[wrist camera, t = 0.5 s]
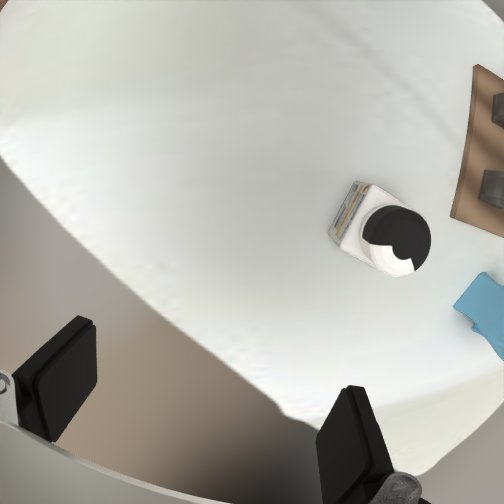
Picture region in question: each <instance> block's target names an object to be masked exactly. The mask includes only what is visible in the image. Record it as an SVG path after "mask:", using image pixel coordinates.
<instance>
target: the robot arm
mask: <svg viewBox="0 0 504 504" xmlns="http://www.w3.org/2000/svg"><path fill="white" fill-rule="evenodd" d="M96 383H97V358H96V326H95V325H93V322H92V320H90V319H87V318H84V317H82V316H79V315H78V316H76V317H75V318H74V319H73V320H72V321H71V322H69V323H68V324H67V325H66V326H65V327H63V328H62V329H61V330H60V331H59V332H58V333H57V334H56V335H55V336H53V337H52V338H51V339H50V340H49V341H48V342H46V343H45V344H44V345H43V346H42V347H41V348H40V349H39V350H38V351H36V352H35V353H34V354H33V355H32V356H31V357H30V358H29V359H28V360H27V361H26V362H25V363H24V364H23V365H21V367H19V368H18V369H17V370H16V371H15V372H14V373H13V374H12V375H10V374H9V373H7V372H6V371H3V370H0V504H229V503H224V502H219V501H214V500H209V499H204V498H200V497H195V496H191V495H187V494H183V493H179V492H176V491H172V490H168V489H165V488H162V487H158V486H155V485H152V484H149V483H146V482H143V481H140V480H137V479H134V478H131V477H128V476H125V475H122V474H120V473H117V472H115V471H112V470H110V469H107V468H104V467H102V466H100V465H97V464H95V463H93V462H90V461H88V460H86V459H84V458H82V457H79V456H77V455H75V454H73V453H71V452H69V451H66V450H64V449H62V448H60V447H58V446H56V445H54V444H52V443H51V442H56V441H57V440H58V439H59V437H60V436H61V434H62V433H63V431H64V430H65V428H66V427H67V426H68V424H69V423H70V421H71V420H72V418H73V417H74V415H75V414H76V413H77V411H78V410H79V408H80V407H81V405H82V404H83V403H84V401H85V400H86V399H87V397H88V396H89V394H90V393H91V391H92V390H93V389H94V387H95V386H96ZM316 448H317V456H318V463H319V473H320V482H321V491H322V500H323V504H431V503H429V502H428V501H426V500H424V499H423V498H421V494H422V487H421V485H420V483H419V481H418V480H417V479H416V478H415V477H414V476H412V475H411V474H408V473H405V472H396V473H395V472H394V469H393V465H392V462H391V459H390V456H389V453H388V450H387V447H386V444H385V442H384V439H383V436H382V433H381V430H380V427H379V425H378V423H377V422H376V419H375V416H374V413H373V410H372V407H371V405H370V402H369V399H368V396H367V394H366V391H365V389H364V387H360V386H353V385H349V386H348V387H347V388H343V389H342V390H341V392H340V394H339V396H338V398H337V400H336V402H335V404H334V405H333V407H332V409H331V411H330V413H329V415H328V417H327V418H326V420H325V422H324V424H323V426H322V427H321V429H320V431H319V433H318V434H317V437H316Z"/></svg>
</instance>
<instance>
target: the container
mask: <svg viewBox="0 0 504 504" xmlns="http://www.w3.org/2000/svg"><path fill="white" fill-rule="evenodd" d="M328 235H329V236H330V237H331V238H332V240H333V241H334V242H335V243H336V244H337V246H338V247H339V248H340V249H341V250H342V251H344V252H346V253H348V254H350V255H352V256H354V257H356V258H357V259H359V260H361V261H363V262H365V263H367V264H369V265H370V266H372V267H374V268H376V269H378V270H380V271H381V272H383V273H385V274H387V275H389V276H390V277H393V278H394V277H402V276H406V275H409V274H411V273H413V272H414V271H416V270H417V269H418V268H419V267H420V266H421V265H422V264H423V263H424V261H425V260H426V258H427V256H428V253H429V250H430V246H431V234H430V230H429V227H428V224H427V223H426V218H425V217H424V216H422V215H421V214H419V213H418V212H416V211H415V210H413V209H412V208H410V207H409V206H407V205H406V204H404V203H403V202H401V201H400V200H398V199H397V198H395V197H393V196H392V195H390V194H389V193H387V192H385V191H384V190H382V189H381V188H379V187H377V186H376V185H372V184H366V183H361V182H355V183H354V184H353V186H352V188H351V190H350V192H349V194H348V196H347V198H346V200H345V202H344V204H343V205H342V207H341V209H340V211H339V213H338V215H337V217H336V219H335V221H334V222H333V224H332V226H331V228H330V230H329V232H328Z"/></svg>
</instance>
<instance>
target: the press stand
mask: <svg viewBox="0 0 504 504" xmlns="http://www.w3.org/2000/svg"><path fill="white" fill-rule="evenodd" d="M450 217H452V218H455V219H457V220H460V221H463V222H465V223H468V224H471V225H473V226H476V227H478V228H481V229H483V230H486V231H488V232H491V233H493V234H496V235H498V236H501V237H503V238H504V80H503V79H501V78H500V77H498V76H497V75H495V74H494V73H492V72H491V71H489V70H487V69H486V68H484V67H483V66H481V65H479V64H477V65H475V66H473V81H472V94H471V104H470V114H469V122H468V129H467V136H466V143H465V149H464V154H463V160H462V165H461V170H460V175H459V180H458V185H457V189H456V193H455V198H454V202H453V206H452V210H451V214H450Z"/></svg>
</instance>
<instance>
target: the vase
mask: <svg viewBox="0 0 504 504" xmlns="http://www.w3.org/2000/svg"><path fill="white" fill-rule="evenodd" d="M453 307H454V309H456V310H458V311H459V312H461V313H463V314H465V315H466V316H468V317H469V318H471V319H472V320H473V321H474V322H475V323H476V324H475V325H474V326H473V327H472V328H471V329H472V330H473V331H474V332H476V333H479V334H481V335H482V336H484V337H485V338H486V339H487V341H488V342H489V343H490V344H491V346H492V347H493V349H494V350H495V351H496V353H497V354H498V356H499V357H500V358H501V359H502V360H503V361H504V286H502V285H499V284H498V283H496V282H495V281H494V280H493V279H492V278H490V277H489V275H488V274H487V273H485V272H482V273H480V274H479V275H478V276H477V278H476V279H475V280H474V281H473V283H472V284H471V285H470V286H469V288H468V289H467V290H466V291H465V292H464V294H463V295H462V296H461V297H460V299H459V300H458V301H457V302H456V303H455V304H454V306H453Z"/></svg>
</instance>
